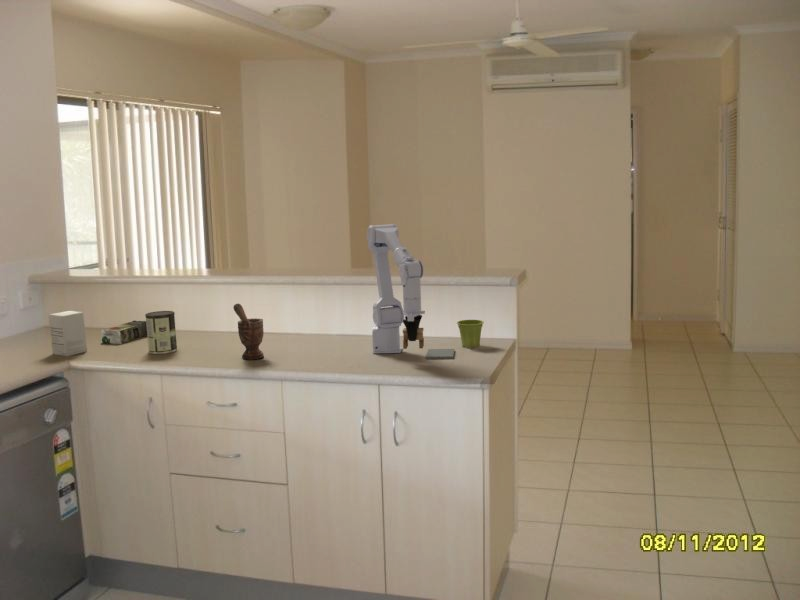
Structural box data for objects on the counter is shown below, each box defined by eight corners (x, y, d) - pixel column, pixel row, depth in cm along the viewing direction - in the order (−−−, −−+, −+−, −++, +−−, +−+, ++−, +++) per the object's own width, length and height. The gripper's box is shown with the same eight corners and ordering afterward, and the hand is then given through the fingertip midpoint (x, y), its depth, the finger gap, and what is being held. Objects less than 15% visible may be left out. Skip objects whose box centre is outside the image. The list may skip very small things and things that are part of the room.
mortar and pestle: (258, 362, 299) (254, 304, 296) (233, 362, 300) (229, 304, 297) (268, 355, 310) (264, 298, 307) (244, 355, 312) (240, 299, 309)
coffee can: (167, 347, 331) (164, 309, 329) (182, 350, 324) (180, 312, 322) (142, 351, 324) (139, 313, 321) (158, 355, 317) (155, 316, 314)
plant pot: (482, 349, 308) (482, 324, 307) (455, 348, 310) (455, 324, 308) (485, 343, 317) (485, 319, 316) (459, 343, 319) (458, 319, 317)
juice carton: (119, 345, 339) (118, 329, 338) (99, 344, 343) (98, 328, 342) (153, 335, 357) (152, 320, 356) (134, 334, 361) (132, 320, 360)
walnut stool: (403, 348, 288) (402, 330, 287) (404, 346, 292) (404, 328, 292) (422, 348, 287) (422, 330, 286) (424, 345, 292) (423, 327, 291)
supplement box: (73, 349, 333) (69, 310, 330) (87, 351, 328) (84, 311, 325) (51, 354, 325) (47, 314, 323) (66, 356, 320) (62, 315, 318)
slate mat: (425, 359, 295) (425, 356, 295) (428, 351, 307) (428, 349, 307) (453, 358, 294) (452, 356, 294) (454, 351, 306) (454, 348, 306)
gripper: (422, 301, 280) (424, 343, 282) (425, 294, 294) (427, 334, 296) (400, 301, 281) (401, 344, 283) (404, 294, 295) (406, 334, 297)
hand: (413, 339), depth 289 cm, fingers closed on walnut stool, 5 cm apart
